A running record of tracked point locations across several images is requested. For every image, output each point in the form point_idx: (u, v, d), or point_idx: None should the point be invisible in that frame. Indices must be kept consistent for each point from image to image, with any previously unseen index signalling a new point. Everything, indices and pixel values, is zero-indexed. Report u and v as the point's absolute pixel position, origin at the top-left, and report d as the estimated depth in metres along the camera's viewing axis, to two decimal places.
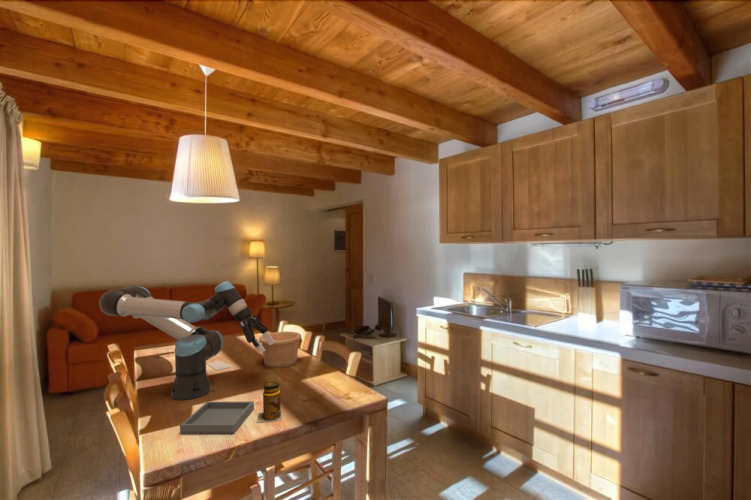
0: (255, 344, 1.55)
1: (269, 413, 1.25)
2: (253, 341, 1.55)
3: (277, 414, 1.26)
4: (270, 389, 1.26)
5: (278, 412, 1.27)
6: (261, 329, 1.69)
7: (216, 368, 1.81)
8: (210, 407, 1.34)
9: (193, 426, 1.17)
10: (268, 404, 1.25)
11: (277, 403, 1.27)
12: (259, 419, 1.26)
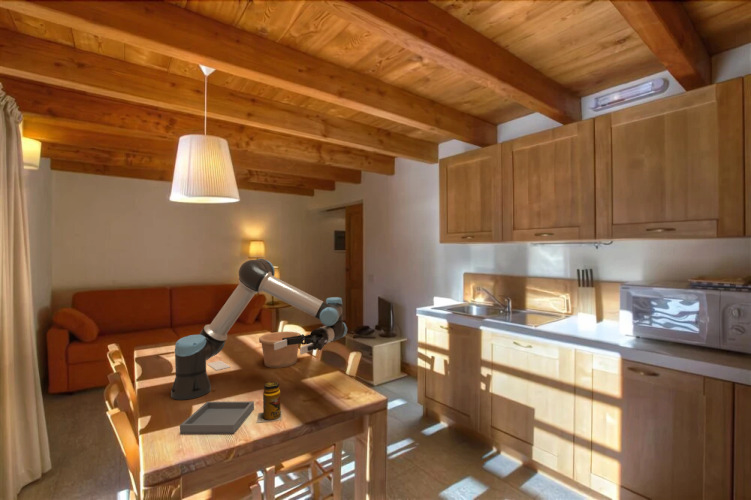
0: (311, 348, 1.36)
1: (269, 413, 1.25)
2: (314, 347, 1.38)
3: (277, 414, 1.26)
4: (270, 389, 1.26)
5: (278, 412, 1.27)
6: (292, 342, 1.47)
7: (216, 368, 1.81)
8: (210, 407, 1.34)
9: (193, 426, 1.17)
10: (268, 404, 1.25)
11: (277, 403, 1.27)
12: (259, 419, 1.26)
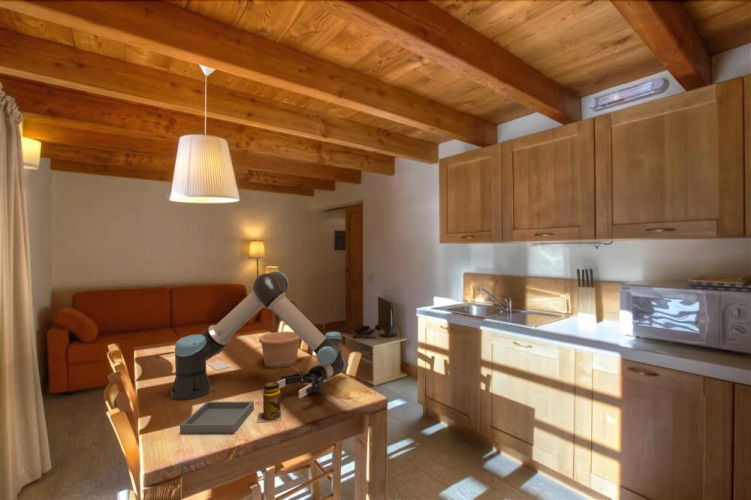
0: (310, 390, 1.35)
1: (269, 413, 1.25)
2: (313, 389, 1.36)
3: (277, 414, 1.26)
4: (270, 389, 1.26)
5: (278, 412, 1.27)
6: (290, 381, 1.45)
7: (216, 368, 1.81)
8: (210, 407, 1.34)
9: (193, 426, 1.17)
10: (268, 404, 1.25)
11: (277, 403, 1.27)
12: (259, 419, 1.26)
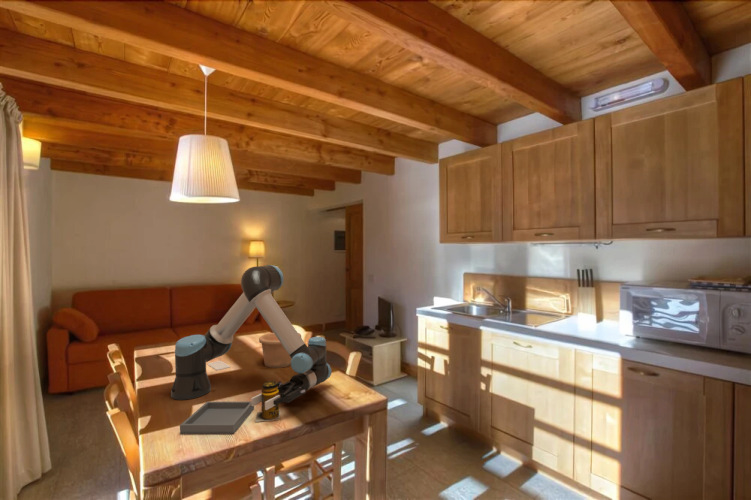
0: (278, 402, 1.25)
1: (267, 412, 1.25)
2: (281, 400, 1.27)
3: (275, 414, 1.27)
4: (268, 389, 1.26)
5: (276, 412, 1.27)
6: None
7: (216, 368, 1.81)
8: (210, 407, 1.34)
9: (193, 426, 1.17)
10: None
11: None
12: (257, 419, 1.26)
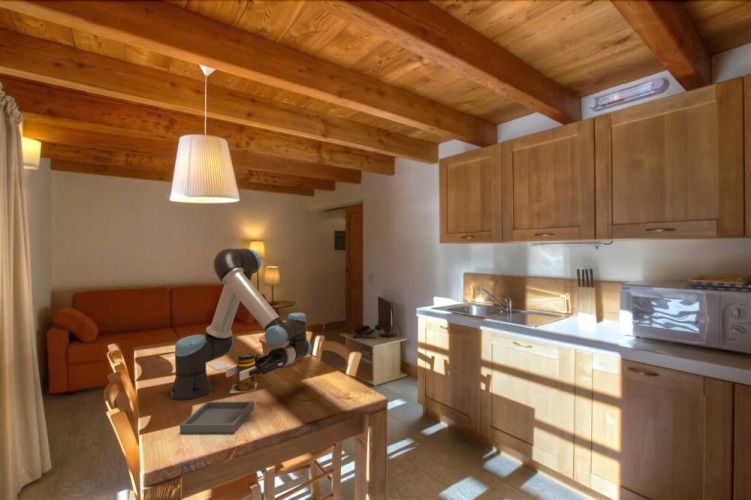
0: (254, 373, 1.23)
1: (242, 383, 1.23)
2: (257, 371, 1.25)
3: (251, 385, 1.25)
4: (244, 360, 1.24)
5: (252, 383, 1.25)
6: None
7: (216, 368, 1.81)
8: (210, 407, 1.34)
9: (193, 426, 1.17)
10: None
11: None
12: (233, 390, 1.24)
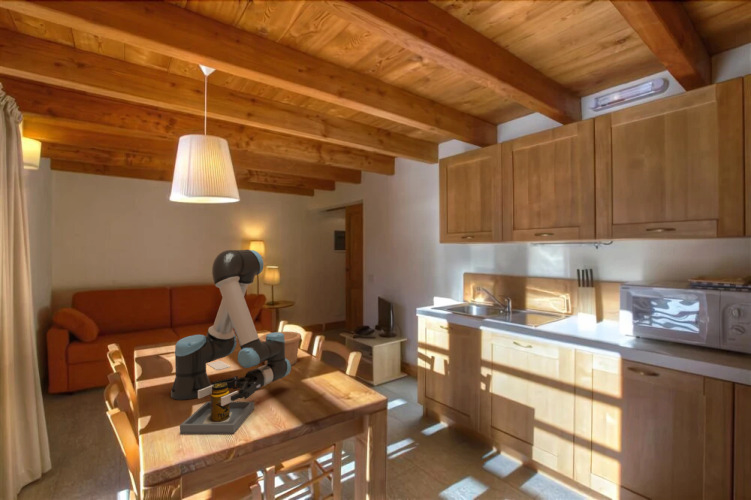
0: (236, 397, 1.23)
1: (215, 414, 1.23)
2: (239, 396, 1.24)
3: (225, 416, 1.24)
4: (217, 390, 1.23)
5: (226, 414, 1.24)
6: None
7: (217, 368, 1.81)
8: (210, 407, 1.34)
9: (193, 426, 1.17)
10: (215, 406, 1.23)
11: None
12: (206, 421, 1.24)
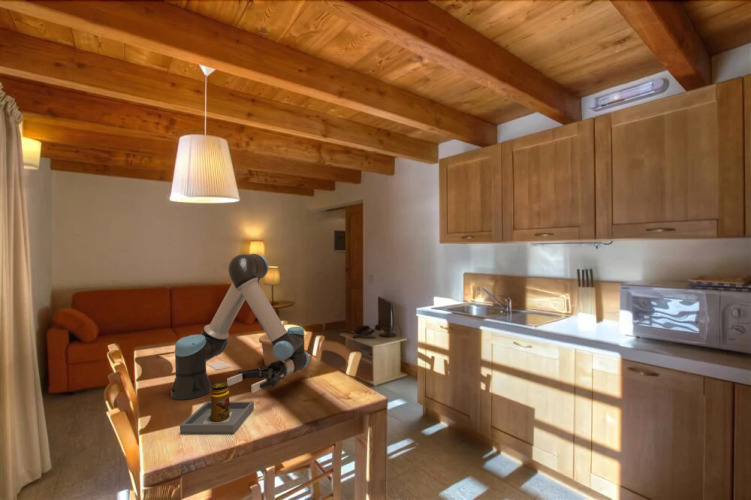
0: (264, 385, 1.33)
1: (215, 414, 1.23)
2: (267, 384, 1.34)
3: (225, 416, 1.24)
4: (217, 390, 1.23)
5: (226, 414, 1.24)
6: (248, 376, 1.44)
7: (217, 368, 1.81)
8: (210, 407, 1.34)
9: (193, 426, 1.17)
10: (215, 406, 1.23)
11: (225, 404, 1.24)
12: (206, 421, 1.24)
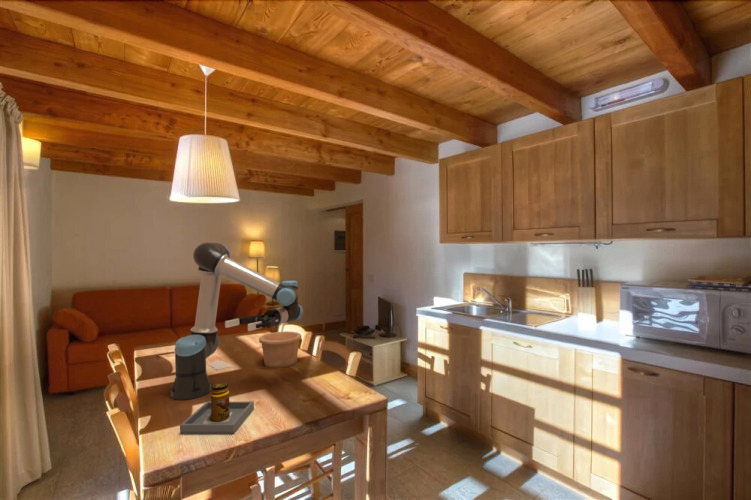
0: (260, 326, 1.43)
1: (215, 414, 1.23)
2: (263, 325, 1.44)
3: (225, 416, 1.24)
4: (217, 390, 1.23)
5: (226, 414, 1.24)
6: (244, 321, 1.53)
7: (217, 368, 1.81)
8: (210, 407, 1.34)
9: (193, 426, 1.17)
10: (215, 406, 1.23)
11: (225, 404, 1.24)
12: (206, 421, 1.24)
